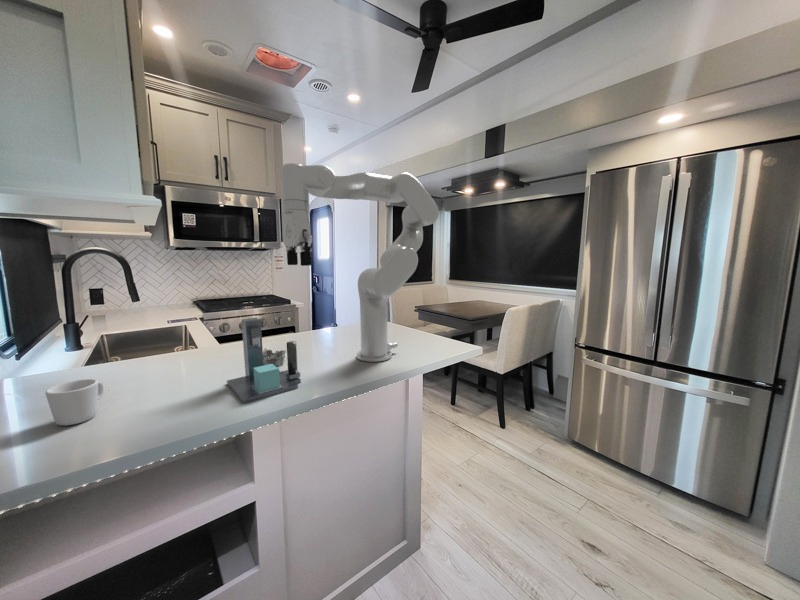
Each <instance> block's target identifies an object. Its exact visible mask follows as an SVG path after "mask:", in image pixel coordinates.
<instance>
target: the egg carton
mask: <svg viewBox="0 0 800 600" xmlns="http://www.w3.org/2000/svg"><path fill="white" fill-rule="evenodd" d="M286 354H287V349H284V350H282V349H281V350H275V352H273V351H272V350H271V349H267V348H266V347H265V348H264V349H263V365H269V364H274V365H275V366H278V367H280V366H284V362H285V359H286V357H285V356H286ZM268 357H269V358H268ZM267 358H268V359H267ZM284 358H285V359H284ZM283 361H284V362H283Z"/></svg>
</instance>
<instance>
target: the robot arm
mask: <svg viewBox="0 0 800 600" xmlns="http://www.w3.org/2000/svg"><path fill="white" fill-rule="evenodd" d="M280 173H281V194H282V196H281V197H282V209H283V210H282V212H283V214H284V215H283V244H284V246H285V248H286V250H285V251H286V259H287V261H286V262H287V265H288V266H298V263H299V262H298V260H299V259H298V252H297V250H298V247H299V248H300V251H299V255H300V256H299V257H300V266H302V267H303V266H312V264H313V262H312V252H313V251H312V250H313V249H312V247H313V240H314V239H313V238H314V237H313V236H312V234H311V223H310V221H311V220H310V216H309V215H310V195H311V196H313V197H316V198H325V199H333V200H353V201H355V200H356V201H357V200H358V201H359V200H363V201H372V202H373V201H374V202H382V203H383V202H384V203H390V204H392V203H393V204H397V203H403V202H405V204H406V206H405V208H404V209H403V210H402V213H401V220H402V221H401V222H402V231H401V233H400V235H398V237H397V238H396V239H395V240H394V241H393V242H392V243H391V245H389V246H388V248H387V249H385V251H384V252H383V253H382V254H381V256H380V260H379V264H380V266H381V267H380V268H378V267H377V268H376V267H375V268H374V267H373V268H371V267H370V268H367V269H364V270H362V272H361V273H360V274H359V276H358V278H357V279H358V280H357V291H358V296H359V309H360V310H359V311H360V313H359V316H360V317H359V320H360V321H359V323H360V350H359V351H358V352H357V353H356V358H357V359H358V360H360V361H362V362H367V363H368V362H369V363H375V362H376V363H377V362H384V361H387V360H389V359H391V358H392V357H393V354H392V351H391V350H392V349H395V348H398V346H399V343H398V342H397V341H395V342H392V343H391V342H388V301H387V299H390V297H392V296H394V295H395V294H396V293H397V292H398V291H399V290H400V289H401V288H402V287H403V286H404V284H405V283H406V282H407V281H408V280H409V278H411V277H412V276H413V274H414V273H415V272H416V270H417V267H418V265H419V264H418V263H419V257H418V253H417V252H418V251H419V249H420V248H421V247H422V244H423V241H424V230H423V227H427V226H430V225H433V224H434V223H436V221H437V220H438V218H439V214H440V210H439V206H438V204H437V203H436V201H435V200H434V198H433V197H432V196H431V194H429V192H428V191H427V190H426V189H425V187H424V186H423V185H422V183H421V182H420V181H419V180H418V179H417V178H416V177H415V176H414V175H412V174H411V173H409V172H400V173H399V174H397V175H394V176H391V175H385V174H384V175H383V174H377V173H372V172H357V173H353V174H349V175H348V174H347V175H341V176H340V175H336V174H335V172H334V170H333V169H332V168H331V167H329V166H327V165H324V164H314V165H313V164H311V165H305V164H300V163H293V162H290V163H289V162H288V163H285V164H283V165H282V166H281V168H280Z"/></svg>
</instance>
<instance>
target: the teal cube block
mask: <svg viewBox="0 0 800 600" xmlns="http://www.w3.org/2000/svg"><path fill="white" fill-rule="evenodd" d="M253 370H254V385H255V387H256V388H257V389H258V390H259V391H265V390H269V389H272V388H276V387H280V375H279V371H280V368H279V366H278V367H276V366H275V365H274V364H269V365H264V366H260V367H255V368H253Z"/></svg>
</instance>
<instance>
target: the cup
mask: <svg viewBox="0 0 800 600" xmlns="http://www.w3.org/2000/svg"><path fill="white" fill-rule="evenodd" d="M103 395H104V384H103V382H101V381H99V380H97V379H94V378H93V379H92V378H86V379H85V378H83V379H77V380H76V379H75V380H71V381H68V382H63V383H60V384H56V385H54V386H52V387H50V388H48V389H46V391H45V397H46V399H47V403H48V405H49V408H50V411H51V414H52V418H53V421H54V422H55V424H57V425H58V426H63V427H64V426H73V425H77V424H80V423H81V424H82V423H84V422H87V421H89V420H90V419H92V418H95V416H96V415H97V413H98V411H99V400H100V399H102V397H103Z"/></svg>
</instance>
